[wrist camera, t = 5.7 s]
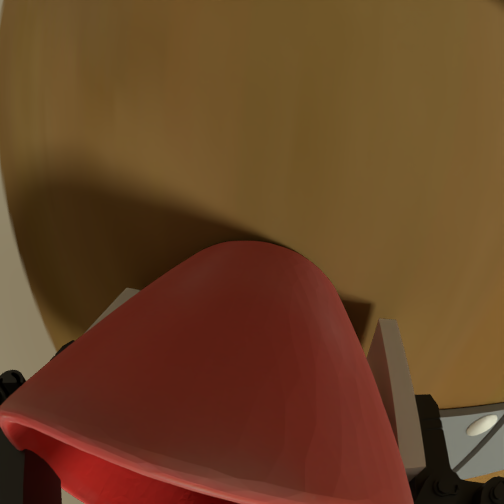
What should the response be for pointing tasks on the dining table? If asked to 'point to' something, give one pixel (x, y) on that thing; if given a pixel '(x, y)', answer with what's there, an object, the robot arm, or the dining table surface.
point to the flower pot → (216, 393)
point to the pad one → (467, 428)
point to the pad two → (484, 455)
